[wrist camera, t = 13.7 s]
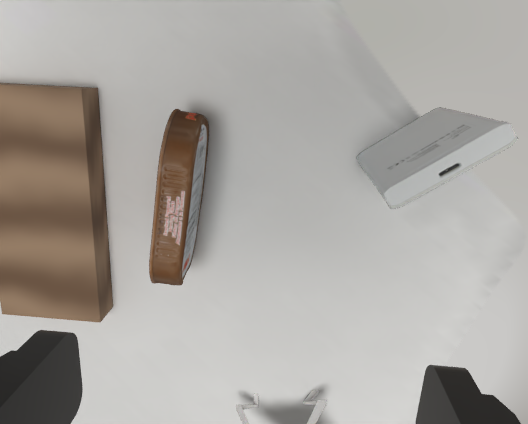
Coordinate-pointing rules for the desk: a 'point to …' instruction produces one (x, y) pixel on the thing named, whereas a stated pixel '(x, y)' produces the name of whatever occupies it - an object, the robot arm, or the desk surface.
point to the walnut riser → (52, 204)
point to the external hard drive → (432, 153)
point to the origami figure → (308, 401)
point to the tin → (178, 196)
